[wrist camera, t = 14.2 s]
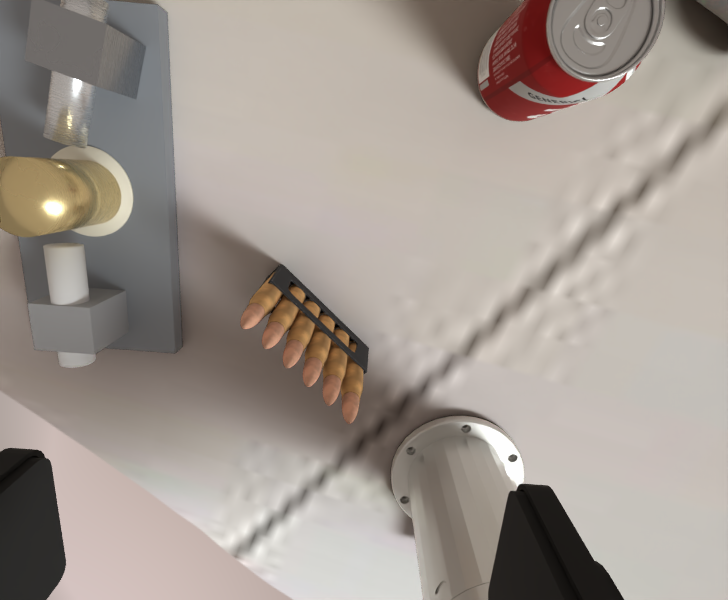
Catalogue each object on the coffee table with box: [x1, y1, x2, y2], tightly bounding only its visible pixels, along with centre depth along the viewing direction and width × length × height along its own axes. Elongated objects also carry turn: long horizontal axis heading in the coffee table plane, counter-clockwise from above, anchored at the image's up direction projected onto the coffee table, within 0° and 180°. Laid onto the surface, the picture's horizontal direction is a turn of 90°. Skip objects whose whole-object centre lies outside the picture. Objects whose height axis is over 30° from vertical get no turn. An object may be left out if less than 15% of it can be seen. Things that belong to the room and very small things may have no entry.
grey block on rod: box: [25, 0, 146, 148], centre depth 29 cm, size 9×4×5 cm, turn 161°
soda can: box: [477, 0, 665, 121], centre depth 26 cm, size 7×7×12 cm
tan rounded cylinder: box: [0, 156, 121, 237], centre depth 30 cm, size 5×5×7 cm
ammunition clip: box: [240, 264, 369, 424], centre depth 32 cm, size 11×2×12 cm, turn 44°
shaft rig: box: [0, 0, 182, 368], centre depth 31 cm, size 26×12×6 cm, turn 176°
